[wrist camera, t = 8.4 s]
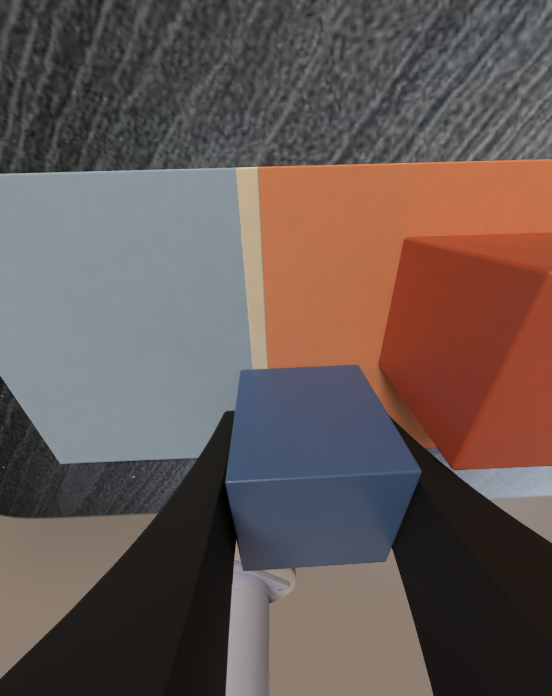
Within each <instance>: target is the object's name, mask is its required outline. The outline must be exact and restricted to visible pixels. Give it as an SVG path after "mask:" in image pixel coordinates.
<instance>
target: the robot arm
mask: <svg viewBox="0 0 552 696" xmlns="http://www.w3.org/2000/svg"><path fill="white" fill-rule="evenodd" d="M234 414H235V411H226V412H224V413H223V415H222V418H221V420H220V422H219V423H218V425H217V427H216V429H215V431H214V433H213V434H212V436H211V438H210V440H209V441H208V443H207V445H206V446H205V448H204V449H203V451H202V453H201V454H200V456H199V458H198V459H197V461H196V462H195V464H194V465H193V467H192V468H191V470H190V471H189V473H188V474H187V475H186V477H185V478H184V480H183V481H182V483H181V484H180V486H179V487H178V488H177V490H176V491H175V492H174V494H173V495H172V496H171V498H170V499H169V500H168V502H167V503H166V504H165V506H164V507H163V508H162V509H161V511H160V512H159V513H158V514H157V516H156V517H155V518H154V520H153V521H152V522H151V523H150V525H148V527H147V528H146V529H145V530H144V531H143V533H142V534H141V535H140V536H139V537H138V538H137V540H136V541H135V542H134V543H133V544H132V546H131V547H130V548H129V549H128V550H127V551H126V552H125V553H124V555H123V556H122V557H121V558H120V559H119V560H118V561H117V562H116V563H115V564H114V566H113V567H112V568H111V569H110V570H109V571H108V572H107V573H106V574H105V575H104V576H103V577H102V578H101V579H100V580H99V581H98V582H97V584H96V585H95V586H94V587H93V588H92V589H91V590H90V591H89V592H88V593H87V594H86V595H85V596H84V597H83V598H82V599H81V600H80V601H79V602H78V603H77V604H76V606H75V607H74V608H73V609H72V610H71V611H70V612H69V613H68V614H67V615H66V616H65V617H64V618H63V619H62V620H61V621H60V622H59V623H58V624H57V625H55V627H54V628H52V629H51V630H50V631H49V632H48V633H47V634H46V635H45V636H44V637H43V638H42V639H41V640H40V641H39V642H38V643H37V644H36V645H35V646H34V647H33V648H32V649H31V650H30V651H29V652H28V653H27V654H25V655H24V656H23V658H21V659H20V660H19V661H18V662H17V663H16V664H15V665H14V666H13V667H12V668H11V669H10V670H9V671H8V672H7V673H6V674H5V675H4V676H3V677H2V678H1V679H0V696H269V598H270V597H272V596H275V595H277V594H279V593H282V592H284V591H286V590H288V589H289V588H290V583H289V582H288V581H286V580H284V579H281V578H279V577H276V576H274V575H271V574H269V573H266V572H264V571H261V570H253V571H243V568H242V563H241V562H238V561H236V560H234V555H235V546H236V533H235V528H234V523H233V518H232V513H231V508H230V504H229V499H228V494H227V489H226V484H225V480H226V473H227V465H228V458H229V451H230V444H231V436H232V429H233V422H234ZM389 417H390V416H389ZM390 419H391V420H392V422H393V424H394V425H395V427H396V429H397V430H398V432H399V434H400V435H401V437H402V439H403V440H404V442H405V444H406V445H407V447H408V449H409V450H410V452H411V454H412V455H413V457H414V459H415V460H416V462H417V464H418V465H419V467H420V469H421V471H422V473H421V476H420V478H419V481H418V483H417V485H416V488H415V490H414V493H413V495H412V498H411V500H410V503H409V505H408V508H407V510H406V513H405V515H404V518H403V520H402V523H401V525H400V527H399V530H398V532H397V535H396V537H395V540H394V542H393V545H392V549H393V552H394V556H395V559H396V562H397V565H398V569H399V572H400V575H401V579H402V582H403V585H404V588H405V592H406V596H407V599H408V602H409V606H410V609H411V613H412V616H413V620H414V623H415V627H416V631H417V634H418V638H419V642H420V645H421V649H422V653H423V657H424V660H425V664H426V668H427V672H428V675H429V679H430V683H431V687H432V691H433V695H434V696H552V543H551V542H549V541H548V540H546V539H545V538H543V537H542V536H540V535H539V534H537V533H536V532H534V531H533V530H531V529H530V528H528V527H527V526H525V525H523V524H522V523H521V522H519V521H518V520H516V519H515V518H513V517H512V516H511V515H509V514H508V513H506V512H505V511H503V510H502V509H500V508H499V507H498V506H496V505H495V504H494V503H492V502H491V501H490V500H488V499H487V498H486V497H484V496H483V495H482V494H480V493H479V492H477V491H476V490H475V489H473V488H472V487H471V486H470V485H468V484H467V483H466V482H464V481H463V480H462V479H461V478H459V477H458V476H457V475H456V474H455V473H453V472H452V471H451V470H450V469H448V468H447V467H446V466H445V465H444V464H442V463H441V462H440V461H439V460H438V459H436V458H435V457H434V456H433V455H432V454H431V453H429V452H428V451H427V450H426V449H425V448H424V447H423V446H422V445H420V444H419V443H418V442H417V441H416V440H415V439H414V438H413V437H412V436H410V435H409V434H408V433H407V432H406V431H405V430H404V429H403V428H402V427H401V426H400V425H399V424H398V423H397V422H396V421H394V420H393V419H392V418H391V417H390Z"/></svg>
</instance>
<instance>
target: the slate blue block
mask: <svg viewBox="0 0 552 696" xmlns="http://www.w3.org/2000/svg"><path fill="white" fill-rule="evenodd" d="M421 473H422V471H421V469H420V467H419V465H418V464H417V462H416V460H415V459H414V457H413V455H412V454H411V452H410V450H409V449H408V447H407V445H406V444H405V442H404V440H403V439H402V437H401V435H400V434H399V432H398V430H397V429H396V427H395V425H394V424H393V422H392V420H391V419H390V417H389V415H388V414H387V412H386V410H385V409H384V407H383V405H382V404H381V402H380V400H379V399H378V397H377V395H376V394H375V392H374V390H373V389H372V387H371V385H370V384H369V382H368V380H367V379H366V377H365V375H364V374H363V372H362V370H361V369H360V367H359V365H340V366H318V367H297V368H275V369H253V370H241V371H240V378H239V385H238V393H237V400H236V407H235V414H234V422H233V429H232V436H231V444H230V451H229V458H228V465H227V473H226V480H225V484H226V489H227V494H228V499H229V504H230V508H231V513H232V518H233V523H234V528H235V533H236V538H237V543H238V548H239V553H240V558H241V563H242V568H243V571H253V570H268V569H283V568H298V567H312V566H327V565H343V564H358V563H372V562H385V561H386V559H387V557H388V555H389V552H390V550H391V547H392V545H393V542H394V540H395V537H396V535H397V532H398V530H399V527H400V525H401V523H402V520H403V518H404V515H405V513H406V510H407V508H408V505H409V503H410V500H411V498H412V495H413V493H414V490H415V488H416V485H417V483H418V481H419V478H420V476H421Z"/></svg>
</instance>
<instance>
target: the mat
mask: <svg viewBox="0 0 552 696" xmlns="http://www.w3.org/2000/svg"><path fill="white" fill-rule="evenodd" d="M523 233H552V159H537V160H500V161H463V162H426V163H388V164H351V165H314V166H277V167H238V168H204V169H167V170H130V171H92V172H55V173H18V174H0V376H1V377H2V379H3V380H4V382H5V383H6V385H7V386H8V388H9V389H10V390H11V392H12V393H13V395H14V396H15V398H16V399H17V401H18V402H19V404H20V405H21V407H22V408H23V410H24V411H25V413H26V414H27V415H28V417H29V418H30V420H31V421H32V423H33V424H34V426H35V427H36V429H37V430H38V432H39V433H40V435H41V436H42V438H43V439H44V440H45V442H46V443H47V445H48V446H49V448H50V449H51V451H52V452H53V454H54V455H55V457H56V458H57V460H58V461H59V462H60V463H61V464H68V463H91V462H114V461H137V460H160V459H183V458H199V456H200V454H201V453H202V451H203V449H204V448H205V446H206V445H207V443H208V441H209V440H210V438H211V436H212V434H213V433H214V431H215V429H216V427H217V425H218V423H219V422H220V420H221V418H222V415H223V413H224V412H226V411H235V407H236V400H237V393H238V385H239V378H240V371H241V370H253V369H275V368H297V367H318V366H340V365H359V367H360V369H361V370H362V372H363V374H364V375H365V377H366V379H367V380H368V382H369V384H370V385H371V387H372V389H373V390H374V392H375V394H376V395H377V397H378V399H379V400H380V402H381V404H382V405H383V407H384V409H385V410H386V412H387V414H388V415H389V416H390V417H391V418H392V419H393V420H394V421H396V422H397V423H398V424H399V425H400V426H401V427H402V428H403V429H404V430H405V431H406V432H407V433H408V434H409V435H410V436H412V437H413V438H414V439H415V440H416V441H417V442H418V443H419V444H420V445H422V446H423V447H424V448H437V447H436V445H435V444H434V442H433V441H432V439H431V438H430V437H429V435H428V434H427V432H426V431H425V430H424V428H423V427H422V425H421V424H420V422H419V421H418V420H417V418H416V417H415V415H414V414H413V413H412V411H411V410H410V408H409V407H408V405H407V404H406V403H405V401H404V400H403V398H402V397H401V396H400V394H399V393H398V391H397V390H396V388H395V387H394V386H393V384H392V383H391V381H390V380H389V378H388V377H387V376H386V374H385V373H384V371H383V370H382V369H381V367H380V366H379V359H380V354H381V349H382V344H383V340H384V335H385V330H386V325H387V320H388V315H389V310H390V305H391V300H392V296H393V291H394V286H395V281H396V276H397V271H398V266H399V261H400V257H401V252H402V247H403V242H404V239H405V238H407V237H427V236H459V235H491V234H523Z"/></svg>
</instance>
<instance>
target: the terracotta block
mask: <svg viewBox="0 0 552 696" xmlns="http://www.w3.org/2000/svg"><path fill="white" fill-rule="evenodd" d="M379 366H380V367H381V369H382V370H383V371H384V373H385V374H386V376H387V377H388V378H389V380H390V381H391V383H392V384H393V386H394V387H395V388H396V390H397V391H398V393H399V394H400V396H401V397H402V398H403V400H404V401H405V403H406V404H407V405H408V407H409V408H410V410H411V411H412V413H413V414H414V415H415V417H416V418H417V420H418V421H419V422H420V424H421V425H422V427H423V428H424V430H425V431H426V432H427V434H428V435H429V437H430V438H431V439H432V441H433V442H434V444H435V445H436V447H437V448H438V449H439V451H440V452H441V454H442V455H443V456H444V458H445V459H446V461H447V462H448V464H449V465H450V466H451V468H452V469H454V470H466V469H488V468H510V467H533V466H552V233H523V234H491V235H459V236H427V237H407V238H405V239H404V242H403V247H402V252H401V257H400V261H399V266H398V271H397V276H396V281H395V286H394V291H393V296H392V300H391V305H390V310H389V315H388V320H387V325H386V330H385V335H384V340H383V344H382V349H381V354H380V359H379Z"/></svg>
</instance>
